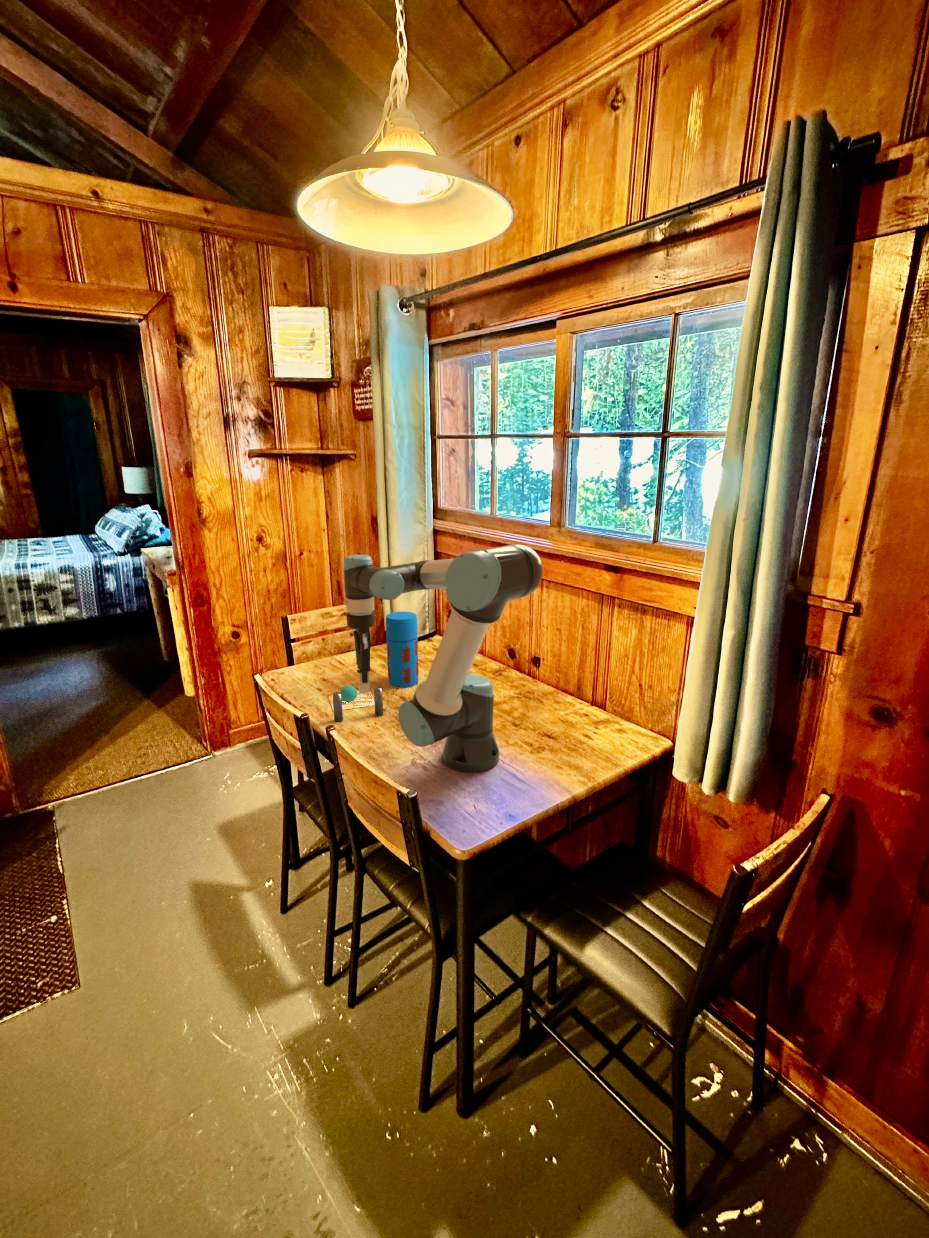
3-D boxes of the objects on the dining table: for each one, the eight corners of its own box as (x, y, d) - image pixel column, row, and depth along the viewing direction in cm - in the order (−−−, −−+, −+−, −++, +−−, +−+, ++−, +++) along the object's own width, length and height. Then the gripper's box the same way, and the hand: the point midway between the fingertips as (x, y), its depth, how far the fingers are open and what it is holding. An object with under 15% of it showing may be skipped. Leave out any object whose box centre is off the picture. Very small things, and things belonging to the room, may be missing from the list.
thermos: (422, 678, 209) (421, 612, 202) (412, 689, 199) (410, 620, 192) (395, 675, 212) (392, 610, 205) (383, 686, 202) (380, 618, 195)
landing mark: (376, 705, 187) (376, 704, 187) (333, 711, 182) (333, 711, 182) (368, 689, 199) (368, 688, 199) (327, 695, 195) (327, 694, 195)
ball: (354, 691, 194) (357, 704, 190) (338, 693, 192) (341, 706, 188) (356, 680, 190) (359, 693, 187) (339, 682, 188) (342, 695, 185)
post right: (384, 715, 179) (382, 688, 177) (375, 716, 179) (374, 690, 176) (382, 712, 182) (381, 685, 179) (374, 713, 181) (372, 687, 178)
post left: (343, 721, 175) (341, 694, 173) (334, 723, 174) (333, 695, 172) (342, 718, 178) (340, 691, 175) (333, 719, 177) (331, 692, 174)
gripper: (342, 607, 161) (347, 685, 167) (350, 619, 149) (355, 702, 155) (369, 605, 163) (373, 681, 170) (378, 616, 151) (382, 698, 158)
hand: (364, 691), depth 163 cm, fingers closed
